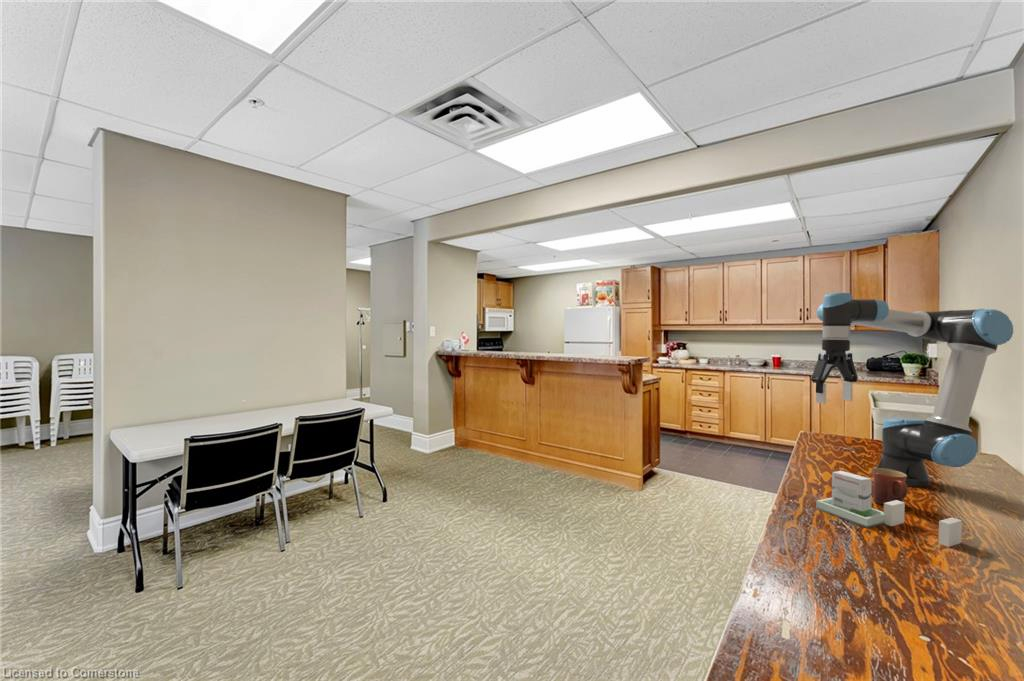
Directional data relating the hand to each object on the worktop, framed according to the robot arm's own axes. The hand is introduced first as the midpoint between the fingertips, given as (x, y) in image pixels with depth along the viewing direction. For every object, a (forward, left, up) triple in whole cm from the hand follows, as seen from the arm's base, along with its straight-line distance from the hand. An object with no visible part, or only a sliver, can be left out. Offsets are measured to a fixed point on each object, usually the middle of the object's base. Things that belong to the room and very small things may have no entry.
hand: (834, 401), depth 146 cm
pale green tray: (+12, +13, -32) cm, 36 cm away
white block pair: (+6, +27, -32) cm, 42 cm away
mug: (-8, +13, -32) cm, 35 cm away
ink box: (+12, +13, -31) cm, 36 cm away
